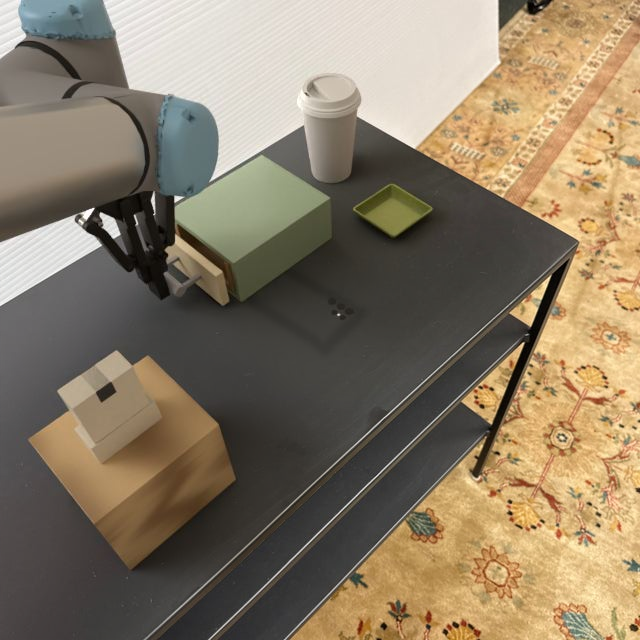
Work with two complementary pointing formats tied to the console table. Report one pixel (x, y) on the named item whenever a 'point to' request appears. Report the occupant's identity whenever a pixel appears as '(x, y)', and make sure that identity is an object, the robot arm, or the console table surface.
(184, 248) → the drawer
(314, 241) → the cabinet
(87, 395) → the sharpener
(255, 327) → the console table surface
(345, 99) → the coffee cup
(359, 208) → the olive green square tray
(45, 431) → the stand
